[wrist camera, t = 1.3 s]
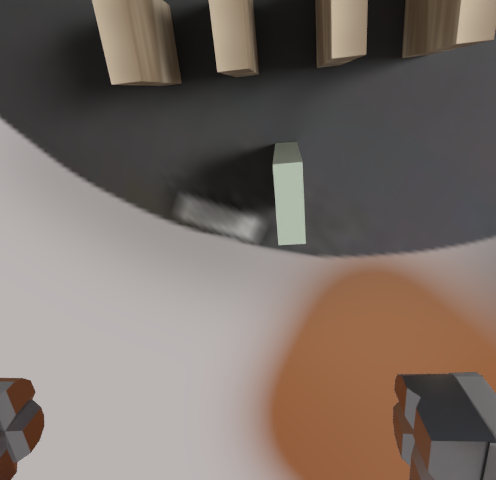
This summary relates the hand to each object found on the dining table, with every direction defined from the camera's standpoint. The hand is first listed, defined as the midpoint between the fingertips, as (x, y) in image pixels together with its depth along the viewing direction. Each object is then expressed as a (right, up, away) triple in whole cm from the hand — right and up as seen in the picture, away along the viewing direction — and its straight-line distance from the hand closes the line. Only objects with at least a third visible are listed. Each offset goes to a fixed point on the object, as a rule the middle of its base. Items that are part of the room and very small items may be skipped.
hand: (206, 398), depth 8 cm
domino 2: (+1, +21, +22) cm, 30 cm away
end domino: (+5, +10, +26) cm, 28 cm away
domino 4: (+15, +21, +20) cm, 33 cm away
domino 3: (+8, +21, +21) cm, 31 cm away
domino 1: (-6, +20, +23) cm, 31 cm away
